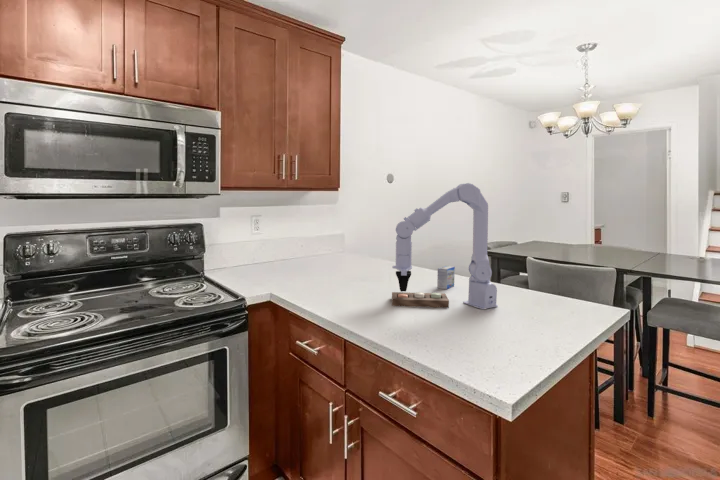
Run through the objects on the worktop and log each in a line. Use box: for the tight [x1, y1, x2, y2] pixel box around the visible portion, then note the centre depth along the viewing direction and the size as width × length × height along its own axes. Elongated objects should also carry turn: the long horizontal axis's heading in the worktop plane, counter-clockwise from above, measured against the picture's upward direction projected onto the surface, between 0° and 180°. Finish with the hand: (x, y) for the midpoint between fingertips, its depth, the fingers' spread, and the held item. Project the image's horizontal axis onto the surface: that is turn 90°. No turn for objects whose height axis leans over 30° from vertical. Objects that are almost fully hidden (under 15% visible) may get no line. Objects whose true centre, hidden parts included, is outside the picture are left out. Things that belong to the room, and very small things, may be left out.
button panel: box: [391, 291, 450, 309], centre depth 144 cm, size 20×10×2 cm, turn 85°
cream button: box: [413, 291, 425, 298], centre depth 144 cm, size 4×4×2 cm
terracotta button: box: [398, 294, 408, 298], centre depth 145 cm, size 4×4×2 cm
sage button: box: [430, 292, 441, 298], centre depth 144 cm, size 4×4×2 cm
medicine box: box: [437, 265, 456, 290], centre depth 169 cm, size 8×4×9 cm, turn 143°
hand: (403, 291), depth 144 cm, fingers closed
